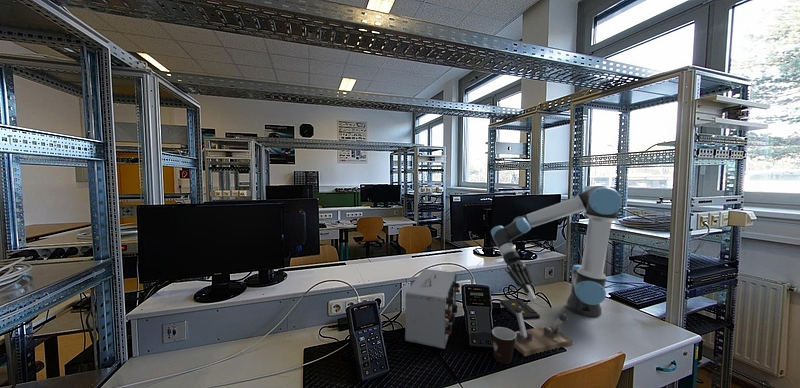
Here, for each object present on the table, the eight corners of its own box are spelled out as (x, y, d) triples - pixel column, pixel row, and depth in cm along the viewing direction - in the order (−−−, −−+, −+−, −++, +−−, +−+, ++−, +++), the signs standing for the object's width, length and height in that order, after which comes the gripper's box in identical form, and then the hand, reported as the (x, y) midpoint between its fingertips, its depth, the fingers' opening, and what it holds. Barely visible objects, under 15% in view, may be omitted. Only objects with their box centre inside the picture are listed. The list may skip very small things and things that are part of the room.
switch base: (548, 329, 128) (549, 318, 128) (572, 344, 117) (572, 333, 117) (504, 338, 121) (504, 327, 121) (524, 356, 110) (525, 344, 109)
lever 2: (550, 327, 123) (565, 311, 116) (555, 333, 121) (570, 318, 114) (545, 328, 122) (559, 312, 115) (549, 335, 120) (564, 319, 113)
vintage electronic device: (449, 354, 111) (450, 292, 109) (405, 345, 117) (405, 286, 115) (459, 315, 141) (460, 266, 139) (424, 309, 146) (424, 262, 144)
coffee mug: (517, 367, 104) (518, 341, 103) (492, 364, 105) (493, 338, 104) (511, 347, 115) (512, 324, 114) (489, 345, 117) (489, 322, 116)
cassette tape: (540, 319, 138) (540, 315, 138) (518, 320, 137) (518, 316, 137) (519, 302, 156) (519, 298, 156) (500, 303, 155) (500, 299, 154)
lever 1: (525, 337, 118) (517, 305, 122) (530, 338, 115) (522, 305, 119) (519, 338, 117) (511, 306, 121) (524, 339, 114) (516, 306, 119)
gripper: (516, 256, 149) (540, 300, 135) (495, 258, 145) (517, 304, 131) (523, 249, 144) (549, 294, 129) (502, 251, 140) (526, 298, 125)
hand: (533, 299), depth 130 cm, fingers closed
